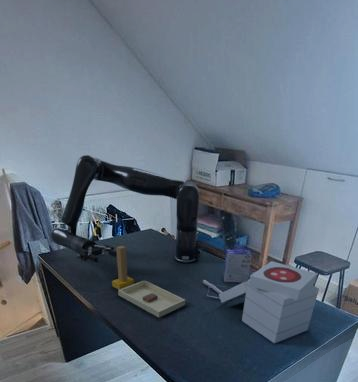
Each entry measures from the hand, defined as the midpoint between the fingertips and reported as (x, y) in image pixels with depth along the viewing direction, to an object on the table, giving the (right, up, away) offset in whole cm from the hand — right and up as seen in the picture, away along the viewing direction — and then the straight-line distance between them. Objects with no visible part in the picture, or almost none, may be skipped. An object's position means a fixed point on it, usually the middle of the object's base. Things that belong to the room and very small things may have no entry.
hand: (106, 256), depth 130 cm
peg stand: (+7, -12, -1) cm, 14 cm away
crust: (+18, -17, -10) cm, 27 cm away
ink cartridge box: (+51, -8, +8) cm, 53 cm away
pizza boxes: (+56, -24, -17) cm, 63 cm away
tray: (+18, -18, -10) cm, 27 cm away
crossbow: (+42, -14, -1) cm, 45 cm away
